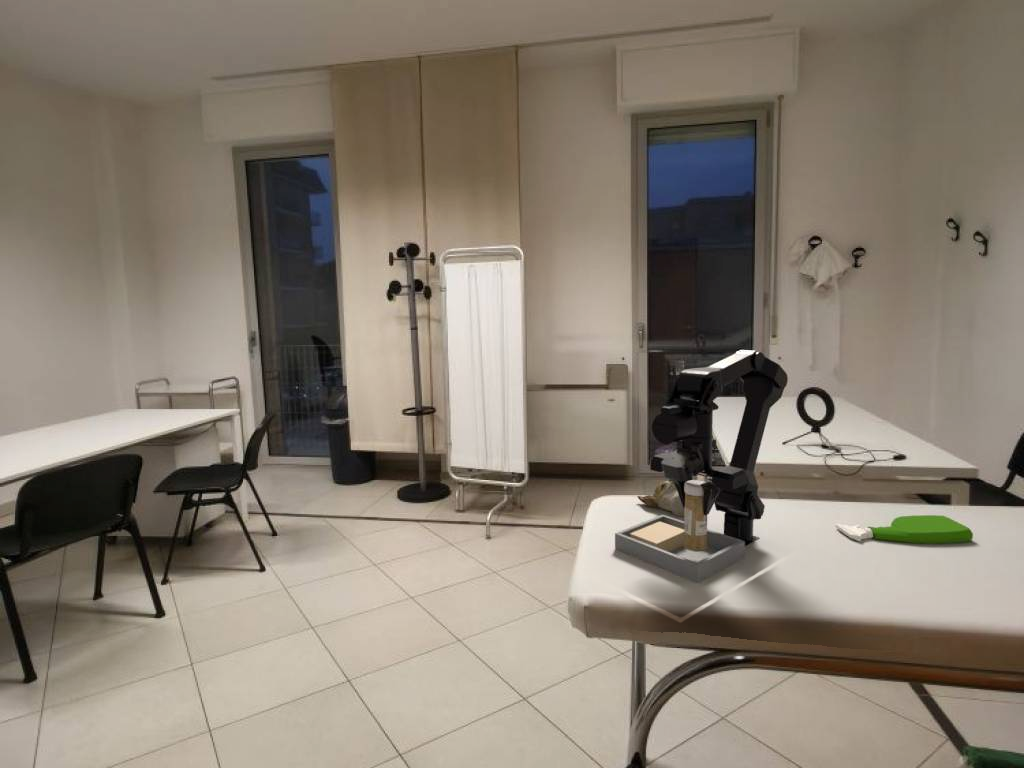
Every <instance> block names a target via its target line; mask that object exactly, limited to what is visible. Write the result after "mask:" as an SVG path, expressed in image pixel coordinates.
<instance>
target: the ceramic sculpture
mask: <svg viewBox="0 0 1024 768" xmlns="http://www.w3.org/2000/svg"><path fill="white" fill-rule="evenodd" d="M636 497H637V499H638V500H639V501H640V502H642V503H643V504H644V505H646V506H648V507H651V508H660V509H662V510H665V511H668V512H671V513H672V514H673V515H674V516H675V517H684V508H683V505H682V503H681V500H680V497H679V494H678V491H677V489H676V487H675V485H674V483H673V482H672V481H671V480H670V479H668V480H667V481H666V480H665V481H662V482H659V483H658V484H657V485H656V486H655V488H654V492H653V494H651V495H650V494H648V495H644V496H642V495H638V496H636Z"/></svg>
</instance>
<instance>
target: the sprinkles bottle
mask: <svg viewBox="0 0 1024 768" xmlns="http://www.w3.org/2000/svg"><path fill="white" fill-rule="evenodd" d="M706 482H707V481H704V480H703V481H702V480H697V479H692V480H690V481H687V482H685V484H684V492H685V509H684V516H683V517H684V518H683V519H684V532H685V538H684V540H685V542H684V547H685V548H686V549H688V550H690V551H695V552H699V551H704V550H706V549H707V544H706V543H707V541H706V538H707V529H708V515H704V510H703V501H704V490H703V489H702V487H701V486H700V484H703V483H706Z"/></svg>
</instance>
